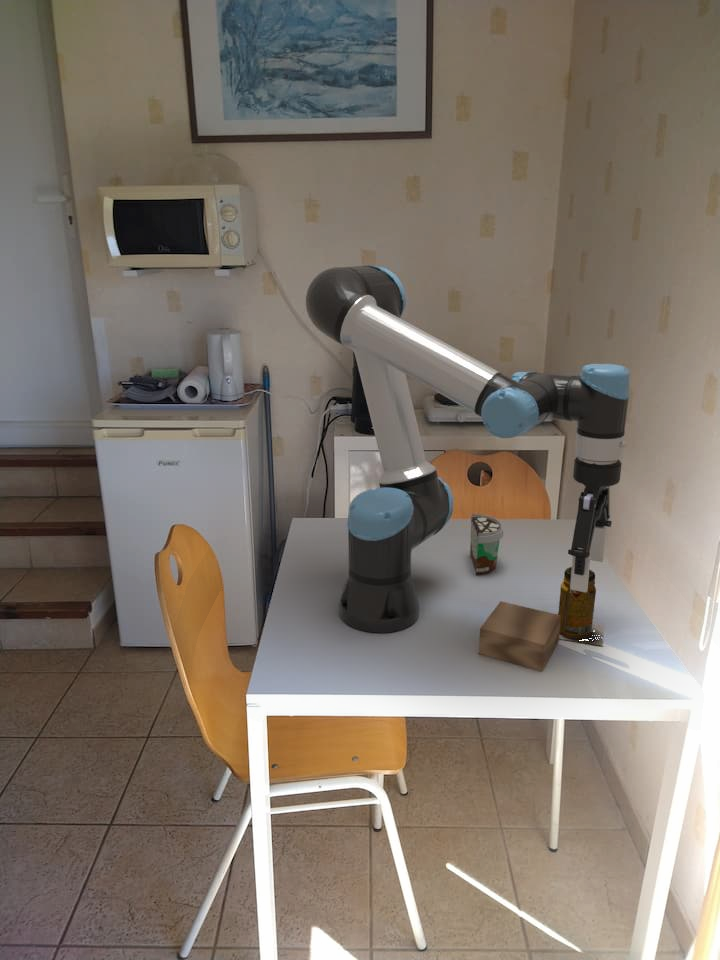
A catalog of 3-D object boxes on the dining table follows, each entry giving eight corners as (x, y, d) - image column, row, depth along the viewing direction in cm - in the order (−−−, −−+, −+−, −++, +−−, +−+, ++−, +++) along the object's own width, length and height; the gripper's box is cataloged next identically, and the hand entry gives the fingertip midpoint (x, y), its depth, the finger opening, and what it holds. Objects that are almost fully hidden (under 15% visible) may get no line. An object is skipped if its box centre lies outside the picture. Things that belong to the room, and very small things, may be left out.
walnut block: (478, 653, 123) (480, 628, 121) (498, 625, 132) (500, 601, 130) (542, 671, 118) (544, 644, 116) (558, 640, 127) (561, 615, 125)
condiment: (556, 619, 134) (562, 561, 130) (603, 627, 131) (611, 568, 127) (552, 638, 127) (558, 578, 124) (602, 647, 125) (610, 585, 121)
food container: (505, 578, 150) (508, 534, 147) (476, 578, 150) (478, 534, 147) (496, 554, 162) (499, 513, 159) (469, 554, 162) (471, 513, 159)
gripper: (607, 482, 107) (594, 609, 113) (633, 443, 128) (622, 552, 134) (556, 475, 110) (547, 599, 117) (590, 439, 131) (581, 545, 138)
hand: (587, 574), depth 125 cm, fingers open, 13 cm apart
